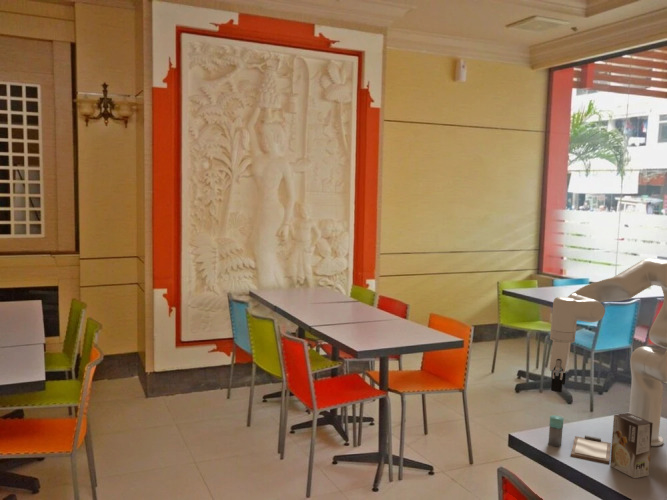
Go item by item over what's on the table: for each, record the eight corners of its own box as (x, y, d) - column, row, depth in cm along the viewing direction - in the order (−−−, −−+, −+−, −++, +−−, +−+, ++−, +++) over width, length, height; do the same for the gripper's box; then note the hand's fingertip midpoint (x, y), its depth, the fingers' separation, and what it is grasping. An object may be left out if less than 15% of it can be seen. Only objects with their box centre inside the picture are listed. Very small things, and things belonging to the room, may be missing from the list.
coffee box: (649, 475, 180) (654, 422, 179) (634, 479, 178) (638, 425, 176) (623, 462, 189) (628, 412, 187) (608, 465, 186) (612, 414, 185)
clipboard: (575, 438, 206) (575, 433, 206) (610, 445, 202) (611, 440, 201) (570, 455, 192) (571, 450, 192) (609, 463, 187) (609, 458, 187)
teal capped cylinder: (548, 440, 204) (550, 414, 203) (562, 443, 202) (564, 417, 201) (547, 445, 200) (549, 418, 199) (560, 448, 198) (562, 421, 197)
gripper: (553, 329, 207) (549, 378, 208) (547, 338, 191) (542, 392, 193) (577, 332, 203) (572, 382, 205) (572, 342, 188) (567, 396, 189)
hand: (557, 387), depth 199 cm, fingers open, 9 cm apart
